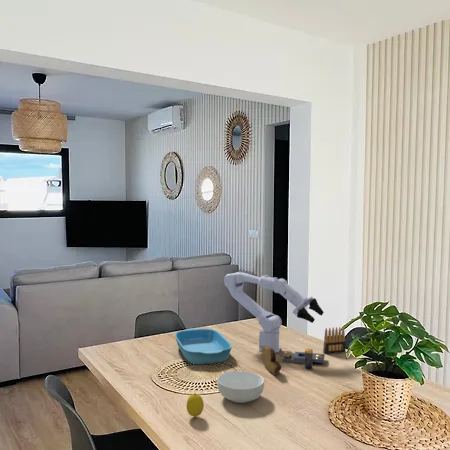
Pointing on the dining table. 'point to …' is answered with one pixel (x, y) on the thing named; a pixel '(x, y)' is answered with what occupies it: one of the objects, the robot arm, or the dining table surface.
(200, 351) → the casserole dish
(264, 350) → the wooden carving
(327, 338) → the ammunition clip
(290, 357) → the chain end left
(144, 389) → the dining table surface
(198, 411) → the lemon
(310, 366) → the pin
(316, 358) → the chain end right
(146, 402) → the dining table surface
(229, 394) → the cereal bowl
